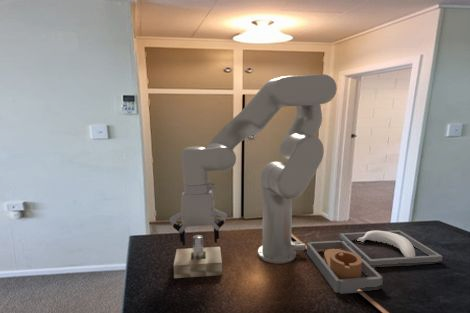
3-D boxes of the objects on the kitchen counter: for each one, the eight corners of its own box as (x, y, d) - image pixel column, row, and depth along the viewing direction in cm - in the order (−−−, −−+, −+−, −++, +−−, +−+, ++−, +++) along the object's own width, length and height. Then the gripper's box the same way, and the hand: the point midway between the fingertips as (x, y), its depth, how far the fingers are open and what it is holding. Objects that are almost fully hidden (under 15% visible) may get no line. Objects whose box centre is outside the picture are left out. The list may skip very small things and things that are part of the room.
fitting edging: (342, 249, 100) (342, 240, 99) (382, 290, 77) (383, 278, 76) (306, 251, 98) (306, 242, 98) (336, 294, 76) (337, 281, 75)
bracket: (364, 290, 77) (365, 266, 76) (332, 287, 79) (333, 264, 78) (347, 257, 95) (348, 237, 94) (321, 255, 96) (322, 236, 95)
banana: (426, 262, 90) (381, 265, 89) (389, 239, 108) (352, 241, 107) (427, 247, 89) (381, 249, 88) (390, 227, 108) (352, 228, 107)
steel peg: (203, 264, 91) (202, 234, 89) (203, 269, 88) (202, 239, 86) (194, 265, 90) (193, 235, 89) (193, 270, 87) (192, 239, 86)
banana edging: (399, 236, 110) (399, 230, 109) (441, 263, 90) (442, 256, 90) (339, 239, 107) (339, 233, 107) (369, 268, 87) (370, 261, 87)
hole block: (220, 258, 95) (220, 246, 94) (222, 275, 85) (221, 262, 84) (177, 260, 93) (176, 249, 93) (174, 278, 83) (173, 265, 83)
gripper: (224, 183, 90) (227, 234, 92) (168, 186, 88) (172, 239, 91) (226, 190, 82) (229, 245, 85) (165, 193, 81) (170, 250, 83)
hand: (200, 242), depth 88 cm, fingers open, 9 cm apart
